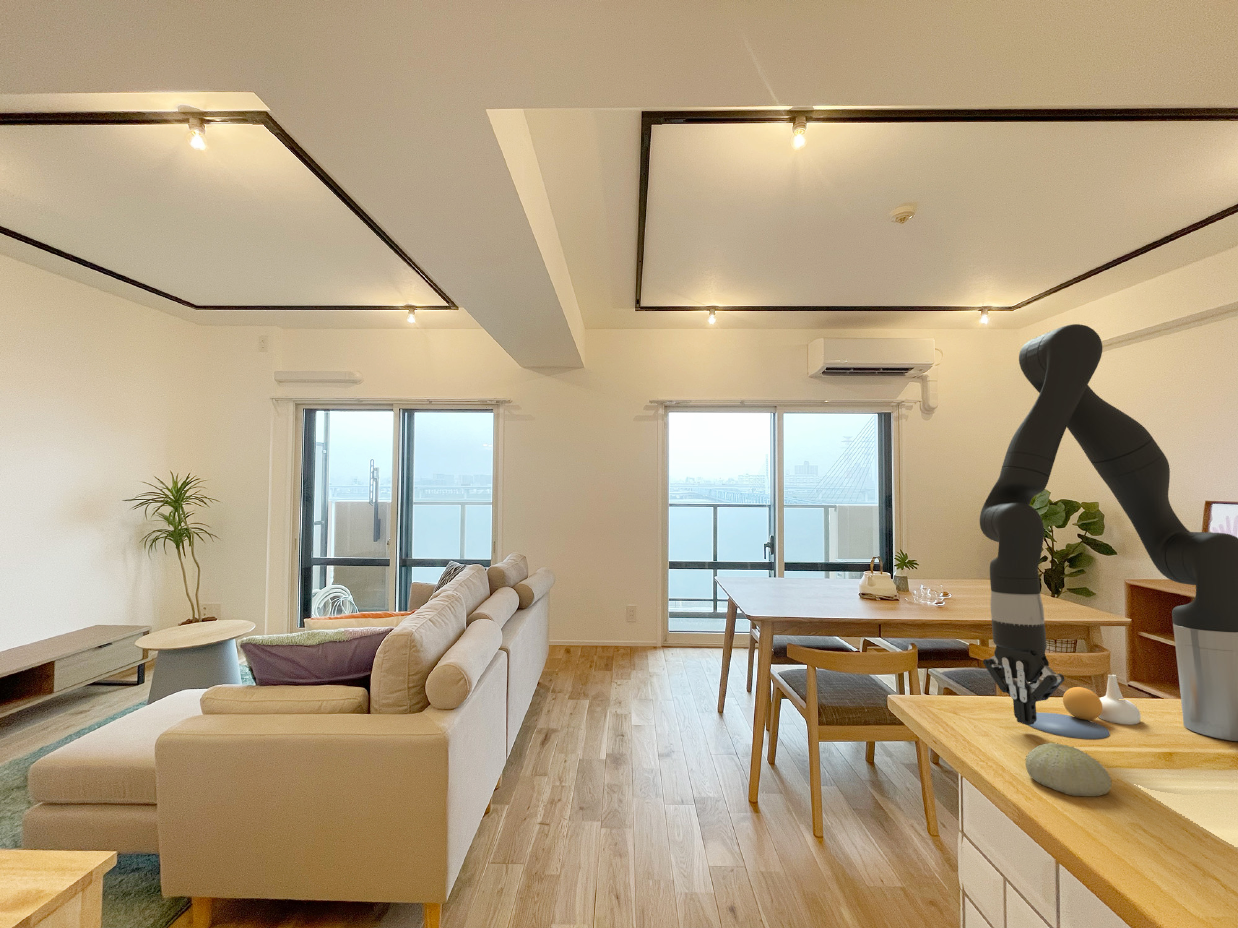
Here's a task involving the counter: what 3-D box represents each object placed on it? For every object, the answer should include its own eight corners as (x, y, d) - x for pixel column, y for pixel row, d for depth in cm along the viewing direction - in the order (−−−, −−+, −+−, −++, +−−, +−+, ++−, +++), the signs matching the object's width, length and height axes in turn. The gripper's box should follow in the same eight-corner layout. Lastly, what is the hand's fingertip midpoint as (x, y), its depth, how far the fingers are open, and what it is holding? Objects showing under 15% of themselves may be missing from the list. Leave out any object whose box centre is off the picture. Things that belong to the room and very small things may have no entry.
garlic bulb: (1135, 720, 101) (1129, 673, 103) (1146, 728, 96) (1140, 679, 97) (1091, 714, 104) (1086, 669, 106) (1099, 722, 99) (1094, 674, 100)
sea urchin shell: (1099, 761, 79) (1105, 733, 75) (1113, 822, 74) (1120, 795, 70) (1020, 748, 84) (1022, 721, 80) (1028, 804, 79) (1030, 779, 74)
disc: (1052, 710, 105) (1052, 709, 105) (1127, 733, 94) (1127, 732, 94) (1005, 718, 101) (1005, 716, 101) (1077, 743, 90) (1077, 741, 90)
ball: (1078, 714, 104) (1076, 683, 105) (1111, 723, 98) (1109, 691, 99) (1056, 715, 102) (1054, 683, 103) (1088, 724, 97) (1086, 690, 98)
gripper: (1073, 623, 92) (1083, 734, 90) (997, 611, 104) (1004, 708, 102) (1040, 627, 89) (1050, 740, 88) (966, 614, 102) (973, 713, 100)
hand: (1025, 722), depth 95 cm, fingers closed
